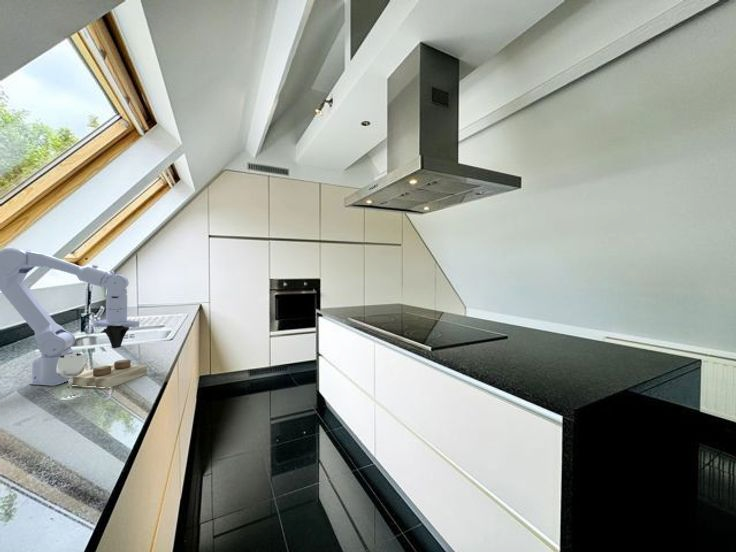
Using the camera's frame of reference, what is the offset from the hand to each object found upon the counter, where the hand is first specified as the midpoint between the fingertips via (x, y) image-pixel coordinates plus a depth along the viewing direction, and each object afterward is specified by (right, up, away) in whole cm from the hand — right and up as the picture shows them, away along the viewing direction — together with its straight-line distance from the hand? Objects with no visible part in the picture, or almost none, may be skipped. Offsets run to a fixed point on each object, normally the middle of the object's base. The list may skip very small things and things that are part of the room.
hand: (116, 347), depth 106 cm
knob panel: (+2, -10, -5) cm, 11 cm away
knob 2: (+4, -9, -2) cm, 10 cm away
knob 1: (+3, -9, -9) cm, 13 cm away
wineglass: (+3, -10, -20) cm, 22 cm away
